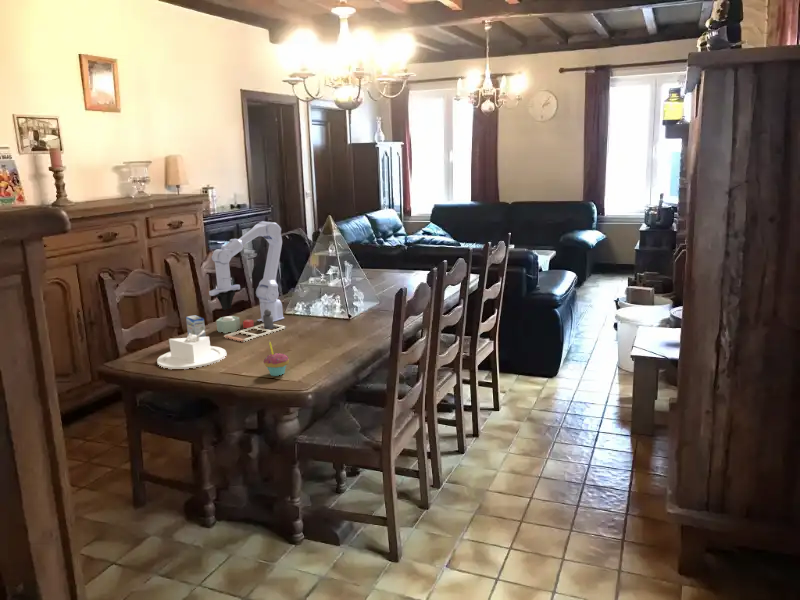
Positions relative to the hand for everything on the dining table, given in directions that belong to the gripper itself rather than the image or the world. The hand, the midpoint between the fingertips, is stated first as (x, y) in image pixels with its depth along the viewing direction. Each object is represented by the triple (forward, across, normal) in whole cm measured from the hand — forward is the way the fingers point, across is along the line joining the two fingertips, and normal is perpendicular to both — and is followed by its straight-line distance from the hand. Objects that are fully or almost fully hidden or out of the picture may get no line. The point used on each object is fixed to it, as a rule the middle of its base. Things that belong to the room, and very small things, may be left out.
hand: (226, 308), depth 282 cm
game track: (+9, -3, +14) cm, 17 cm away
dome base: (+9, 0, 0) cm, 9 cm away
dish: (+10, +32, +20) cm, 39 cm away
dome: (+8, 0, 0) cm, 8 cm away
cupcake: (+10, +26, +61) cm, 67 cm away
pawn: (+9, -10, +14) cm, 20 cm away
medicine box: (+10, +14, -3) cm, 17 cm away
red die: (+9, -7, +4) cm, 13 cm away
